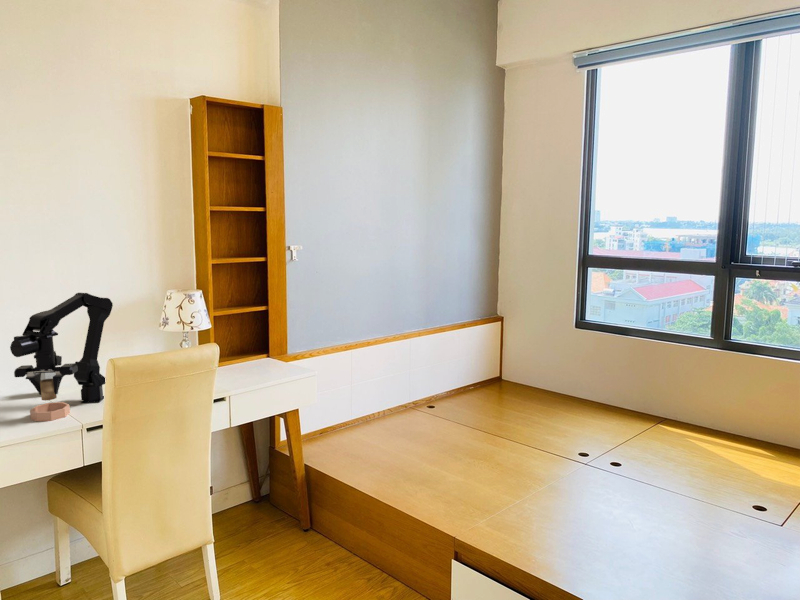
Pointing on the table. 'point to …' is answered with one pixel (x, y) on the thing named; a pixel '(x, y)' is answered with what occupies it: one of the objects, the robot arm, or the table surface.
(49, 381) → the oak tube
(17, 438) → the table surface
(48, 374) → the skincare box
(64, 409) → the pink octagonal ring
